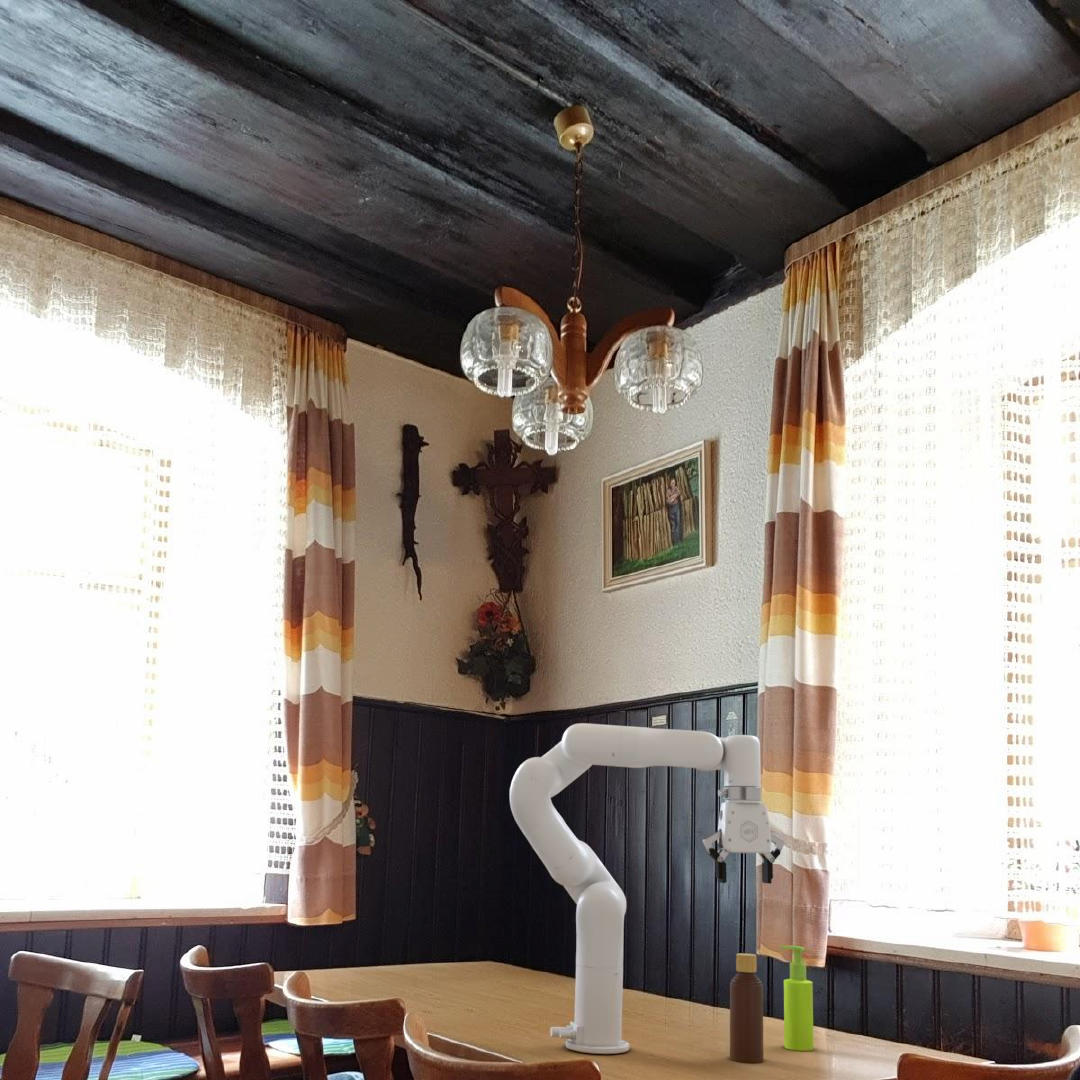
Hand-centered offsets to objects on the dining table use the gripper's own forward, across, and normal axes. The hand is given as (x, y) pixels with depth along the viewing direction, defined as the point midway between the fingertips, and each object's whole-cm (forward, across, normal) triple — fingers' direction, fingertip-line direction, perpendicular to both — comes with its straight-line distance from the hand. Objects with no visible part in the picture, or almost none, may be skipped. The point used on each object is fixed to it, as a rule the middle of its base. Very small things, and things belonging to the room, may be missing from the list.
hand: (744, 882), depth 237 cm
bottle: (+33, -1, -1) cm, 33 cm away
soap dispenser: (+33, +15, +11) cm, 38 cm away
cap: (+17, 0, -1) cm, 17 cm away
